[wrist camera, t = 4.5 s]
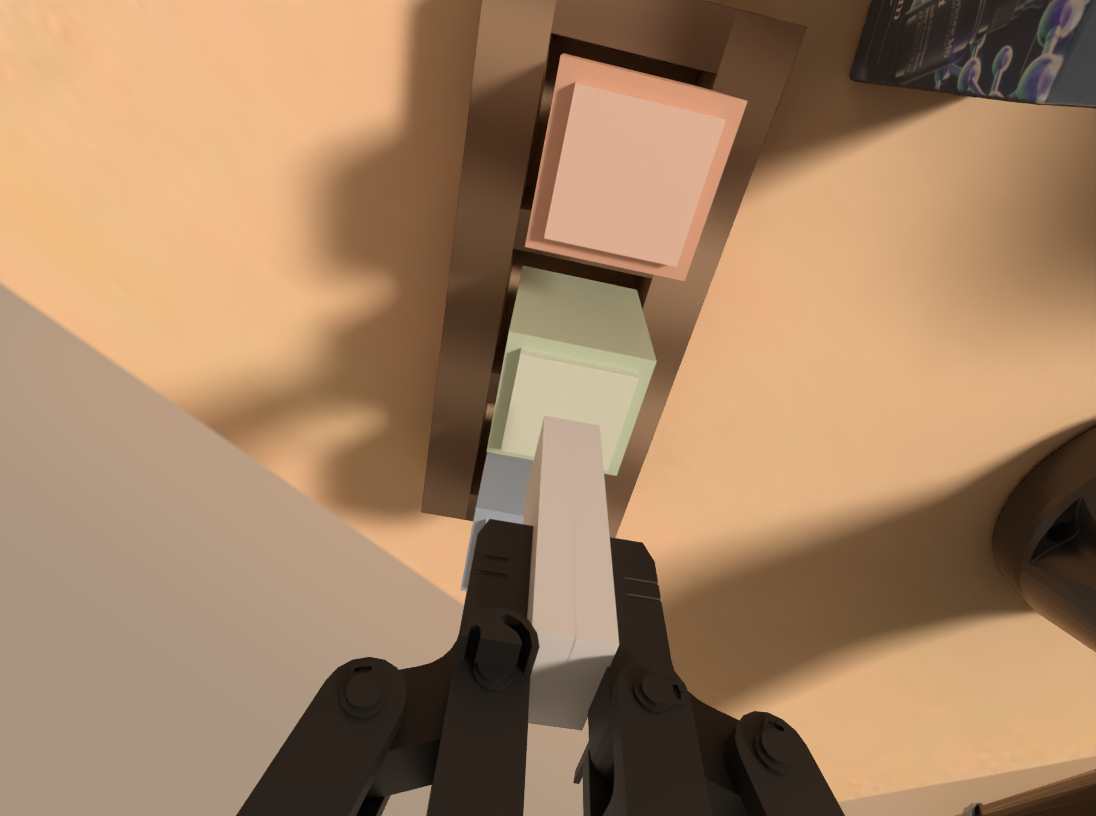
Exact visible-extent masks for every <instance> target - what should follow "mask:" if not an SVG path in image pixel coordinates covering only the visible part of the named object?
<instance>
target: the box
mask: <svg viewBox="0 0 1096 816" xmlns="http://www.w3.org/2000/svg"><path fill="white" fill-rule="evenodd" d="M850 79H851V80H853V81H856V82H862V83H869V84H877V85H886V86H895V87H903V88H910V89H918V90H924V91H934V92H940V93H948V94H955V95H962V96H970V97H980V98H986V99H993V100H1001V101H1008V102H1019V103H1029V104H1036V105H1053V106H1069V107H1086V108H1096V0H872V2H871V5H870V8H869V12H868V16H867V19H866V23H865V25H864V27H863V32H862V37H861V40H860V43H859V47H858V50H857V52H856V56H855V60H854V63H853V66H852V69H851V73H850Z"/></svg>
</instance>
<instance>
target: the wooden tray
mask: <svg viewBox="0 0 1096 816" xmlns="http://www.w3.org/2000/svg"><path fill="white" fill-rule="evenodd" d="M806 28H807V27H804V26H800V25H797V24H793V23H789V22H785V21H781V20H777V19H773V18H769V17H766V16H762V15H758V14H754V13H750V12H746V11H742V10H738V9H735V8H731V7H727V6H723V5H719V4H715V3H711V2H707V1H704V0H482V5H481V13H480V22H479V30H478V38H477V47H476V55H475V64H474V72H473V81H472V89H471V97H470V106H469V114H468V123H467V131H466V139H465V148H464V156H463V165H462V173H461V182H460V190H459V198H458V207H457V215H456V224H455V232H454V241H453V249H452V257H451V266H450V274H449V283H448V291H447V300H446V308H445V316H444V325H443V333H442V342H441V350H440V359H439V367H438V375H437V384H436V392H435V401H434V409H433V418H432V426H431V434H430V443H429V451H428V460H427V468H426V477H425V485H424V493H423V502H422V510H421V512H424V513H429V514H435V515H441V516H446V517H452V518H458V519H464V520H469V521H473V520H474V515H475V510H476V505H477V500H478V495H479V490H480V485H481V480H482V475H483V470H484V465H485V461H486V459H483V458H478V454H479V449H480V443H481V437H482V432H483V426H484V421H485V415H486V409H487V404H488V402H490V403H496V398H497V393H498V387H499V382H500V376H501V371H502V366H503V360H504V355H505V350H506V344H504V343H499V336H500V331H501V325H502V319H503V314H504V308H505V302H506V297H507V291H508V286H509V280H510V274H511V269H512V263H513V257H514V252H515V249H517V250H522V251H527V252H531V253H536V254H541V255H545V256H550V257H555V258H559V259H564V260H569V261H573V262H578V263H583V264H587V265H592V266H596V267H601V268H606V269H610V270H615V271H620V272H624V273H629V274H634V275H638V276H637V280H636V283H635V286H634V289H636V290H637V292H638V296H639V299H640V303H641V307H642V310H643V314H644V317H645V321H646V325H647V328H648V332H649V335H650V339H651V343H652V346H653V350H654V353H655V357H656V361H657V362H656V365H655V368H654V370H653V373H652V376H651V379H650V382H649V385H648V388H647V390H646V393H645V396H644V399H643V402H642V405H641V408H640V411H639V413H638V416H637V419H636V422H635V425H634V428H633V431H632V433H631V436H630V439H629V442H628V445H627V448H626V451H625V454H624V456H623V459H622V462H621V465H620V468H619V471H618V474H617V476H615V475H609V474H604V479H605V490H606V502H607V513H608V524H609V536H610V537H611V538H615V537H616V534H617V532H618V529H619V526H620V524H621V521H622V518H623V516H624V513H625V510H626V508H627V505H628V502H629V500H630V497H631V494H632V492H633V489H634V486H635V484H636V481H637V478H638V476H639V473H640V470H641V468H642V465H643V462H644V460H645V457H646V454H647V452H648V449H649V446H650V444H651V441H652V438H653V436H654V433H655V430H656V428H657V425H658V422H659V420H660V417H661V414H662V412H663V409H664V406H665V404H666V401H667V398H668V396H669V393H670V390H671V388H672V385H673V382H674V380H675V377H676V374H677V372H678V369H679V366H680V364H681V361H682V358H683V356H684V353H685V350H686V348H687V345H688V342H689V340H690V337H691V334H692V332H693V329H694V326H695V324H696V321H697V318H698V316H699V313H700V310H701V308H702V305H703V302H704V300H705V297H706V294H707V292H708V289H709V286H710V284H711V281H712V278H713V276H714V273H715V270H716V268H717V265H718V262H719V260H720V257H721V254H722V252H723V249H724V246H725V244H726V241H727V238H728V236H729V233H730V230H731V228H732V225H733V222H734V220H735V217H736V214H737V212H738V209H739V206H740V204H741V201H742V198H743V196H744V193H745V190H746V188H747V185H748V182H749V180H750V177H751V174H752V172H753V169H754V166H755V164H756V161H757V158H758V156H759V153H760V150H761V148H762V145H763V142H764V140H765V137H766V135H767V132H768V129H769V127H770V124H771V121H772V119H773V116H774V113H775V111H776V108H777V105H778V103H779V100H780V97H781V95H782V92H783V89H784V87H785V84H786V81H787V79H788V76H789V73H790V71H791V68H792V65H793V63H794V60H795V57H796V55H797V52H798V49H799V47H800V44H801V41H802V39H803V36H804V33H805V31H806ZM553 35H557V36H561V37H565V38H569V39H573V40H577V41H581V42H585V43H589V44H593V45H597V46H601V47H605V48H609V49H613V50H618V51H622V52H626V53H630V54H634V55H638V56H642V57H646V58H650V59H654V60H658V61H662V62H666V63H670V64H674V65H678V66H682V67H686V68H690V69H694V70H698V71H699V74H698V77H697V81H696V84H695V86H699V87H702V88H706V89H709V90H712V91H716V92H719V93H723V94H726V95H729V96H733V97H736V98H739V99H743V100H746V101H748V102H747V105H746V107H745V110H744V113H743V116H742V119H741V122H740V125H739V127H738V130H737V133H736V136H735V139H734V142H733V145H732V147H731V150H730V153H729V156H728V159H727V162H726V165H725V168H724V170H723V173H722V176H721V179H720V182H719V185H718V188H717V190H716V193H715V196H714V199H713V202H712V205H711V208H710V210H709V213H708V216H707V219H706V222H705V225H704V228H703V231H702V233H701V236H700V239H699V242H698V245H697V248H696V251H695V253H694V256H693V259H692V262H691V265H690V268H689V271H688V274H687V276H686V279H685V281H681V280H676V279H671V278H667V277H662V276H657V275H653V274H648V273H644V272H639V271H634V270H630V269H625V268H620V267H616V266H611V265H606V264H602V263H597V262H593V261H588V260H583V259H579V258H574V257H569V256H565V255H560V254H555V253H551V252H546V251H542V250H537V249H532V248H528V247H525V243H526V238H527V233H528V227H529V222H530V217H531V211H532V206H533V201H534V195H535V193H531V192H526V191H525V190H526V184H527V179H528V173H529V167H530V162H531V156H532V151H533V145H534V139H535V134H536V128H537V122H538V117H539V111H540V106H541V100H542V94H543V89H544V83H545V77H546V72H547V66H548V61H549V55H550V49H551V44H552V38H553Z"/></svg>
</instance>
